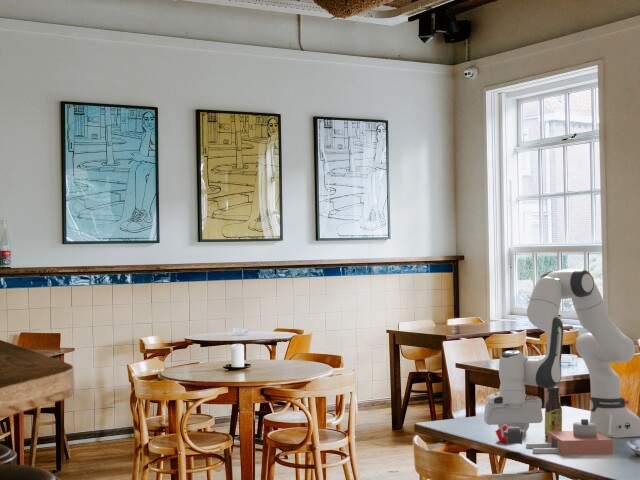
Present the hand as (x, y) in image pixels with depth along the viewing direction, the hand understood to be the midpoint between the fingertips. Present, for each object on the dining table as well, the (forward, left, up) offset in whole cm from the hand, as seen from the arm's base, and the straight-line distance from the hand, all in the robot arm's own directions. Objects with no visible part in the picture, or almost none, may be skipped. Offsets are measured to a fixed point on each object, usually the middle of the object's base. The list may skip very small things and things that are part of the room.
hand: (514, 436), depth 289 cm
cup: (-7, -30, -6) cm, 31 cm away
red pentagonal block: (-1, -18, -6) cm, 19 cm away
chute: (0, 0, -2) cm, 2 cm away
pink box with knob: (-20, -3, -6) cm, 21 cm away
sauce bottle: (-20, -20, -6) cm, 29 cm away
